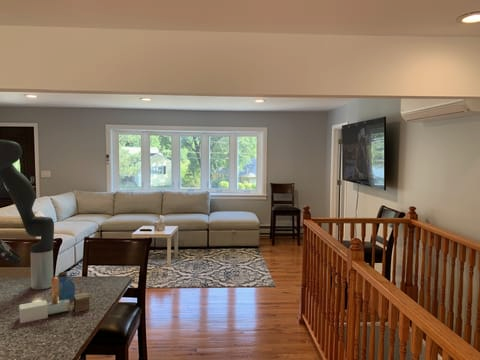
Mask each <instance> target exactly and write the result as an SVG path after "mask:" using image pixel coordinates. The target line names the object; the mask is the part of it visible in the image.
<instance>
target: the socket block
mask: <svg viewBox="0 0 480 360" xmlns="http://www.w3.org/2000/svg"><path fill="white" fill-rule="evenodd" d="M73 308H74V311H75V312H76V313H78V312H82V311H89V310H90V295H89V294H88V293H87V292H83V293H77V294H75V295H74V300H73Z"/></svg>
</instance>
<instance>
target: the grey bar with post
mask: <svg viewBox="0 0 480 360" xmlns="http://www.w3.org/2000/svg"><path fill="white" fill-rule="evenodd" d="M51 280H52V287H51V301H50V302H47V308H48V315H53V314H57V313H63V312H67V311H71V301H69V299H65V300H60V301H59V285H58V281H59V276H53V277H52V278H51Z"/></svg>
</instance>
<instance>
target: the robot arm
mask: <svg viewBox="0 0 480 360" xmlns="http://www.w3.org/2000/svg"><path fill="white" fill-rule="evenodd" d="M22 150H23V149H22V147H21V145H20V144H19V143H17V142H15V141H12V140H6V139H0V179H1V181H2V183H3V185H4V187H5V188H6V190H7V192H8V194H9V196H10V199H11V200H12V202H13V204H14V206H15V207H16V210H17V212H18V214H19V216H20V219H21V222H22V224H23V226H24V227H23V228H24V230H25V231H26V233H27V235H28V236H29V237H36V238H39V237H40V241H39V242H37V243H34V244H31V246H30V284H31V285H30V286H31V289H32V290H45V289H49V288H52V280H51V278H52V277H54V256H53V255H54V252H53V250H54V249H53V248H54V242H55V241H54V237H55V222H54V219H53V218H52V217H49V216H36V215H35V213H34V211H33V207H34V204H35V202H36V199H37V196H36V195H37V194H36V192H35V189H34V187H33V185H32V183H31V181H30V180H29V179H28V178H27V177H26V175H24V174H23V173H22V172H20V170H18V169H17V168H16V166H14V164H15V163H17V162H18V161H19V160H20V159H21V157H22V153H23V151H22ZM20 255H21V254H19V253H18V252H16V251H14V250H13V248H12V247H11V245H9V244H7V243H6V242H5V241H4V240H3V239H0V257H1V258H2V259H3V260H6V261H9V262H11V263H12V264H13V265H14V266H18V265H19V264H20V263H21V262H22V259H20V257H21V256H20Z"/></svg>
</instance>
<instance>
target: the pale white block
mask: <svg viewBox="0 0 480 360" xmlns="http://www.w3.org/2000/svg"><path fill="white" fill-rule="evenodd" d="M47 303H48V301H47V300H46V299H44V300H39V301H35V302H28V303H23V304H22V303H21V304H19V306H18V307H19V310H18V311H19V315H18V316H19V323H20V324H24V323H30V322H34V321H38V320H44V319H48V316H49V314H48V308H47Z"/></svg>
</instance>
